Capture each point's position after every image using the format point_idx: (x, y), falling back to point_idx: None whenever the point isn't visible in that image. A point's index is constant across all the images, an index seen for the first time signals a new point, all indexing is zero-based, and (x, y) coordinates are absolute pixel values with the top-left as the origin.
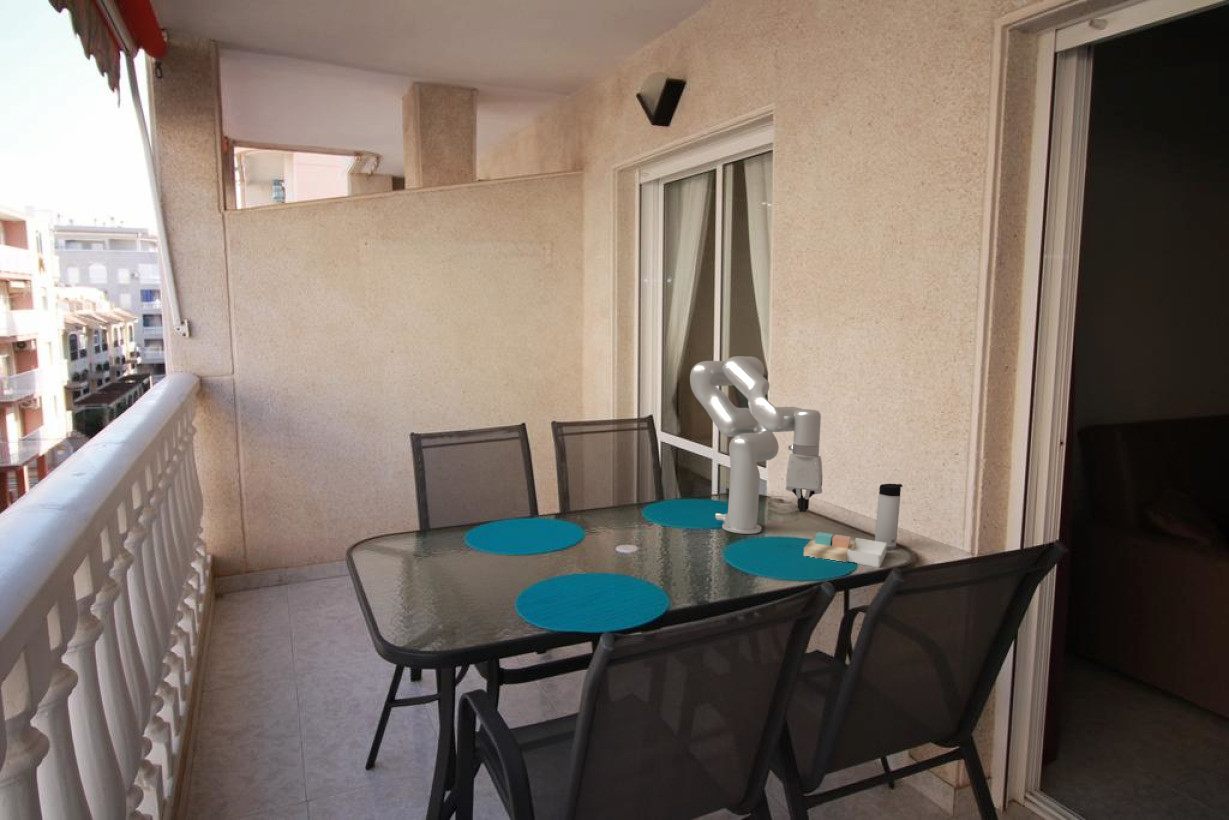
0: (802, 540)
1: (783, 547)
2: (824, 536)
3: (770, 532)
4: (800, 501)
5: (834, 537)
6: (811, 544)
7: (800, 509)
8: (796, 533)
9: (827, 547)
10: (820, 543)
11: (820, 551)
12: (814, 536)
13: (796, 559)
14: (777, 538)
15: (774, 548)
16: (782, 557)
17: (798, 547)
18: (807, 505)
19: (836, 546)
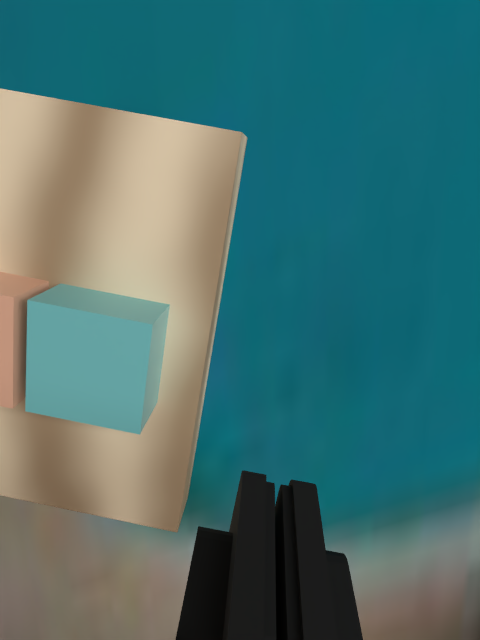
0: None
1: (383, 306)
2: (78, 310)
3: (448, 597)
4: (318, 618)
5: (1, 312)
6: (190, 260)
7: (300, 499)
8: None
9: (72, 226)
10: (127, 297)
11: (114, 110)
12: (183, 477)
13: (296, 11)
14: (413, 494)
15: (450, 253)
16: (404, 16)
17: (283, 346)
18: (192, 566)
19: (16, 275)
